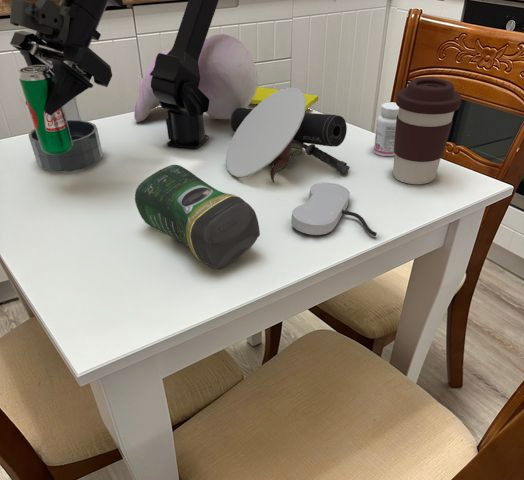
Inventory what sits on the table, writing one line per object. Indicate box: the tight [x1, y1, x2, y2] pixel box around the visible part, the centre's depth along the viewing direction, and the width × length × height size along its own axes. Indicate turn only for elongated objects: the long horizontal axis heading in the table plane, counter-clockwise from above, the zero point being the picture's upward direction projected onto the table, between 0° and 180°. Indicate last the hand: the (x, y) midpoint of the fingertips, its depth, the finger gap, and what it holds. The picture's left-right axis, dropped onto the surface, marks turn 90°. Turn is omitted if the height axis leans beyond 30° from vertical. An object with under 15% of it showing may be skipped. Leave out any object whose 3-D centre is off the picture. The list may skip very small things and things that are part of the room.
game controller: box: [290, 181, 378, 237], centre depth 78 cm, size 15×13×2 cm
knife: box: [291, 139, 351, 174], centre depth 93 cm, size 19×2×5 cm
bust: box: [133, 33, 259, 123], centre depth 109 cm, size 20×18×30 cm
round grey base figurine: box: [225, 87, 306, 183], centre depth 92 cm, size 18×18×11 cm
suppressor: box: [229, 107, 348, 148], centre depth 96 cm, size 27×5×5 cm, turn 41°
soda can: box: [18, 65, 73, 155], centre depth 79 cm, size 5×5×12 cm
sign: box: [250, 86, 319, 111], centre depth 121 cm, size 29×2×10 cm
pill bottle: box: [373, 101, 399, 157], centre depth 95 cm, size 5×5×8 cm
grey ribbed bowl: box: [28, 119, 104, 172], centre depth 95 cm, size 12×12×6 cm
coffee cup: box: [392, 77, 462, 185], centre depth 85 cm, size 10×10×15 cm
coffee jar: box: [134, 164, 261, 269], centre depth 71 cm, size 10×8×19 cm
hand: (37, 109), depth 78 cm, fingers closed on soda can, 5 cm apart
